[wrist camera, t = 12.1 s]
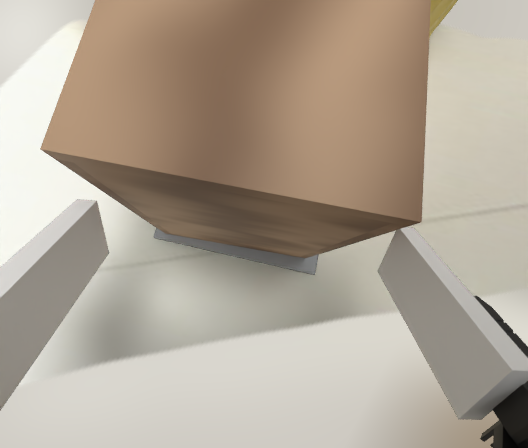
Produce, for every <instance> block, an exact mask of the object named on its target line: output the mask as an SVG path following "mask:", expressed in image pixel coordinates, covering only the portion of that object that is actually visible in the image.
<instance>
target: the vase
mask: <svg viewBox="0 0 528 448" xmlns="http://www.w3.org/2000/svg"><path fill="white" fill-rule="evenodd" d="M457 1H458V0H431V7H430V31H429V38H430V36H431V34H432V32H433V31H434V30H435V29H436V27H437V26H438V25H439V24H440V22H441V21H442V20H443V19H444V17H445V16H446V15H447V14H448V12H449V11H450V10H451V9H452V7H453V6H454V5H455V3H456V2H457Z"/></svg>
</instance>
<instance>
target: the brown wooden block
mask: <svg viewBox="0 0 528 448" xmlns="http://www.w3.org/2000/svg"><path fill="white" fill-rule="evenodd" d="M430 7H431V0H95V3H94V6H93V8H92V11H91V14H90V17H89V19H88V22H87V24H86V27H85V30H84V32H83V35H82V38H81V41H80V43H79V46H78V49H77V51H76V54H75V57H74V59H73V62H72V65H71V68H70V70H69V73H68V76H67V78H66V81H65V84H64V86H63V89H62V92H61V95H60V97H59V100H58V103H57V105H56V108H55V111H54V113H53V116H52V119H51V122H50V124H49V127H48V130H47V132H46V135H45V138H44V140H43V143H42V146H41V148H40V149H41V150H42V151H44V152H45V153H47V154H48V155H50V156H51V157H53V158H54V159H56V160H57V161H59V162H60V163H62V164H63V165H65V166H66V167H68V168H69V169H70V170H72V171H73V172H75V173H76V174H78V175H79V176H81V177H82V178H84V179H85V180H87V181H88V182H90V183H91V184H93V185H94V186H96V187H97V188H99V189H100V190H102V191H103V192H105V193H106V194H107V195H109V196H110V197H112V198H113V199H115V200H116V201H118V202H119V203H121V204H122V205H124V206H125V207H127V208H128V209H130V210H131V211H133V212H134V213H136V214H137V215H139V216H140V217H141V218H143V219H144V220H146V221H147V222H149V223H150V224H152V225H153V226H155V227H156V228H158V229H159V230H161V231H162V232H164V233H165V234H171V235H177V236H182V237H188V238H194V239H199V240H205V241H211V242H216V243H222V244H227V245H233V246H239V247H244V248H250V249H256V250H261V251H267V252H273V253H278V254H284V255H290V256H295V257H301V258H308V257H311V256H315V255H318V254H321V253H324V252H327V251H331V250H334V249H337V248H340V247H343V246H347V245H350V244H353V243H356V242H360V241H363V240H366V239H369V238H372V237H376V236H379V235H382V234H385V233H388V232H392V231H395V230H398V229H401V228H404V227H408V226H411V225H414V224H417V223H420V222H421V221H422V197H423V173H424V150H425V126H426V102H427V79H428V55H429V31H430Z"/></svg>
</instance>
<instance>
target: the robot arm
mask: <svg viewBox="0 0 528 448" xmlns="http://www.w3.org/2000/svg"><path fill="white" fill-rule="evenodd" d="M108 254H109V250H108V246H107V242H106V238H105V233H104V229H103V225H102V221H101V217H100V212H99V208H98V204H97V201H92V200H80V199H77V200H76V201H75V202H74V203H72V204H71V205H70V206H69V207H68V208H67V209H66V210H64V211H63V212H62V213H61V214H60V215H59V216H58V217H57V218H55V219H54V220H53V221H52V222H51V223H50V224H49V225H48V226H46V227H45V228H44V229H43V230H42V231H41V232H40V233H39V234H37V235H36V236H35V237H34V238H33V239H32V240H31V241H29V242H28V243H27V244H26V245H25V246H24V247H23V248H22V249H20V250H19V251H18V252H17V253H16V254H15V255H14V256H13V257H11V258H10V259H9V260H8V261H7V262H6V263H5V264H3V265H2V266H1V267H0V411H1V409H2V408H3V406H4V404H5V403H6V402H7V400H8V399H9V397H10V396H11V395H12V393H13V392H14V390H15V389H16V387H17V386H18V384H19V383H20V381H21V380H22V379H23V377H24V376H25V374H26V373H27V371H28V370H29V368H30V367H31V366H32V364H33V363H34V361H35V360H36V358H37V357H38V355H39V354H40V352H41V351H42V350H43V348H44V347H45V345H46V344H47V342H48V341H49V339H50V338H51V336H52V335H53V334H54V332H55V331H56V329H57V328H58V326H59V325H60V323H61V322H62V320H63V319H64V318H65V316H66V315H67V313H68V312H69V310H70V309H71V307H72V306H73V305H74V303H75V302H76V300H77V299H78V297H79V296H80V294H81V293H82V291H83V290H84V289H85V287H86V286H87V284H88V283H89V281H90V280H91V278H92V277H93V275H94V274H95V273H96V271H97V270H98V268H99V267H100V265H101V264H102V262H103V261H104V259H105V258H106V257H107V255H108ZM378 273H379V275H380V276H381V278H382V280H383V282H384V284H385V286H386V287H387V289H388V291H389V293H390V295H391V297H392V298H393V300H394V302H395V304H396V306H397V308H398V309H399V311H400V313H401V315H402V316H403V319H404V320H405V322H406V324H407V326H408V328H409V329H410V331H411V333H412V335H413V337H414V338H415V340H416V342H417V344H418V346H419V348H420V349H421V351H422V353H423V355H424V357H425V359H426V361H427V362H428V364H429V366H430V368H431V370H432V371H433V373H434V375H435V377H436V379H437V381H438V383H439V384H440V386H441V388H442V390H443V392H444V394H445V395H446V397H447V399H448V401H449V403H450V404H451V406H452V408H453V410H454V412H455V414H456V415H457V417H458V419H475V420H481V419H483V418H484V417H485V416H486V415H487V414H489V413H490V412H491V411H492V410H493V411H494V412H495V414H496V415H497V417H498V418H499V421H498V422H496V423H495V424H494V425H493V426H491V427H490V428H489V429H487V430H486V431H485V432H484V433H482V436H481V438H480V439H481V440H483V441H486V440H487V439H489V438H490V437H491V436H494V442H493V443H492V444H491V447H493V448H528V347H527V346H526V344H525V343H523V341H522V340H521V339H520V338H519V337H518V336H517V335H516V334H514V333H513V330H512V329H511V328H510V327H509V326H508V325H507V323H504V322H503V319H502V318H501V317H500V316H499V315H498V313H497V312H496V311H495V310H494V309H493V308H492V307H491V306H489V305H488V304H487V303H485V302H484V301H483V300H481V299H480V298H479V297H477V296H473V295H472V294H471V293H470V291H469V290H468V289H467V288H466V287H465V286H464V285H463V283H462V282H461V281H460V280H459V279H458V278H457V276H456V275H455V274H454V273H453V272H452V271H451V270H450V268H449V267H448V266H447V265H446V264H445V263H444V262H443V260H442V259H441V258H440V257H439V256H438V255H437V254H436V252H435V251H434V250H433V249H432V248H431V247H430V246H429V244H428V243H427V242H426V241H425V240H424V239H423V238H422V236H421V235H420V234H419V233H418V232H417V231H416V230H415V228H410V227H404V228H401V229H398V230H396V232H395V235H394V237H393V239H392V241H391V243H390V245H389V248H388V250H387V252H386V254H385V256H384V259H383V261H382V263H381V265H380V267H379V269H378Z"/></svg>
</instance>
